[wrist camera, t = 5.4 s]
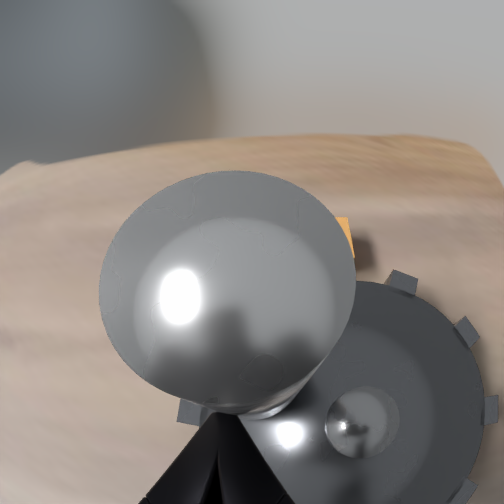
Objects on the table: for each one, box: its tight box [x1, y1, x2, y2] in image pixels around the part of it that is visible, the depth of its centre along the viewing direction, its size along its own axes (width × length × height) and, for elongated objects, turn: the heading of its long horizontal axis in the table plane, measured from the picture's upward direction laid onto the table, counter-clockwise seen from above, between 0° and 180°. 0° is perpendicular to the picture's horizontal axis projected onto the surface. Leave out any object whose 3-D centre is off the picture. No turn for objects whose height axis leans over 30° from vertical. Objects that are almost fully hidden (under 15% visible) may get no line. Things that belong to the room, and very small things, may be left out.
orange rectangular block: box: [335, 217, 355, 258], centre depth 17 cm, size 3×2×2 cm, turn 0°
